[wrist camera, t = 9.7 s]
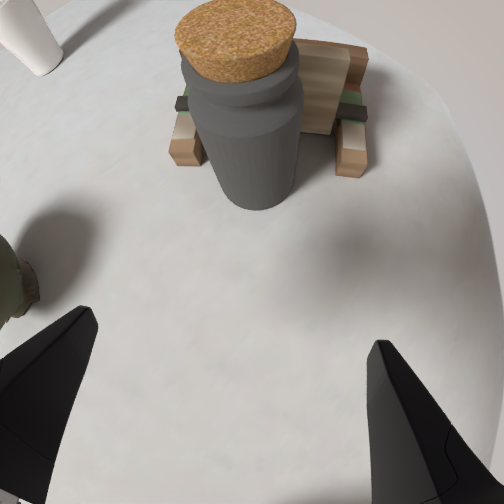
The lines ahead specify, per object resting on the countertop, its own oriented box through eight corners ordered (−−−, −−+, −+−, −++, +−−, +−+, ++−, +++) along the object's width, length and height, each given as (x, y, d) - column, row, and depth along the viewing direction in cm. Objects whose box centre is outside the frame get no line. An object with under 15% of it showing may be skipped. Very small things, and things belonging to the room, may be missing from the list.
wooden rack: (359, 178, 23) (381, 141, 17) (177, 165, 24) (153, 128, 18) (353, 91, 25) (366, 47, 19) (197, 82, 26) (183, 40, 20)
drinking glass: (77, 45, 30) (31, -22, 15) (53, 79, 29) (-4, 12, 14) (48, 51, 31) (4, -6, 16) (26, 84, 30) (-27, 28, 15)
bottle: (208, 166, 24) (143, 21, 9) (270, 134, 24) (262, -21, 10) (241, 225, 23) (191, 94, 8) (308, 189, 23) (343, 38, 8)
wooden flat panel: (358, 138, 23) (388, 68, 15) (184, 128, 25) (151, 58, 16) (357, 127, 24) (385, 56, 15) (187, 117, 25) (156, 47, 16)
